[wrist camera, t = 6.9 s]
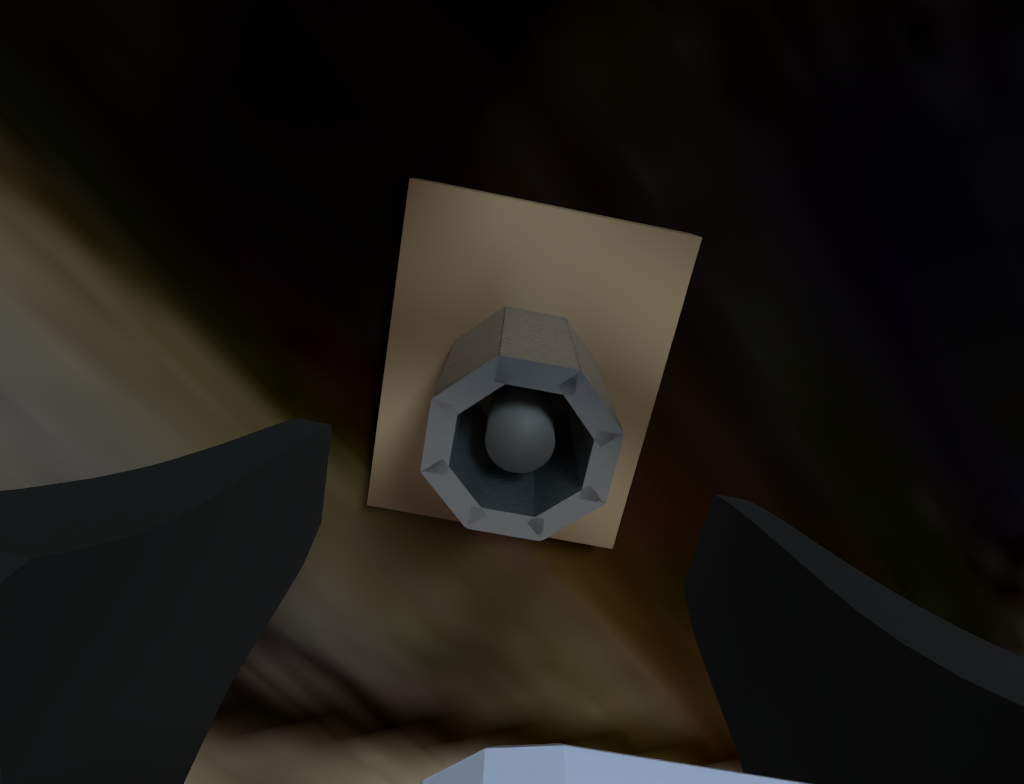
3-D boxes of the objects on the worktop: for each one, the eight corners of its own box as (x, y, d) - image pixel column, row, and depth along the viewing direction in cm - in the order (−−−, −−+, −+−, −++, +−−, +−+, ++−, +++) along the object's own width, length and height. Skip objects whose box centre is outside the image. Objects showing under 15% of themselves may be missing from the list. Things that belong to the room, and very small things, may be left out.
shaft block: (607, 528, 21) (634, 643, 16) (375, 487, 21) (326, 590, 16) (690, 233, 18) (758, 258, 13) (416, 177, 18) (372, 179, 12)
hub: (575, 456, 19) (592, 550, 14) (440, 432, 19) (413, 519, 14) (608, 325, 18) (639, 380, 13) (462, 297, 18) (439, 343, 13)
